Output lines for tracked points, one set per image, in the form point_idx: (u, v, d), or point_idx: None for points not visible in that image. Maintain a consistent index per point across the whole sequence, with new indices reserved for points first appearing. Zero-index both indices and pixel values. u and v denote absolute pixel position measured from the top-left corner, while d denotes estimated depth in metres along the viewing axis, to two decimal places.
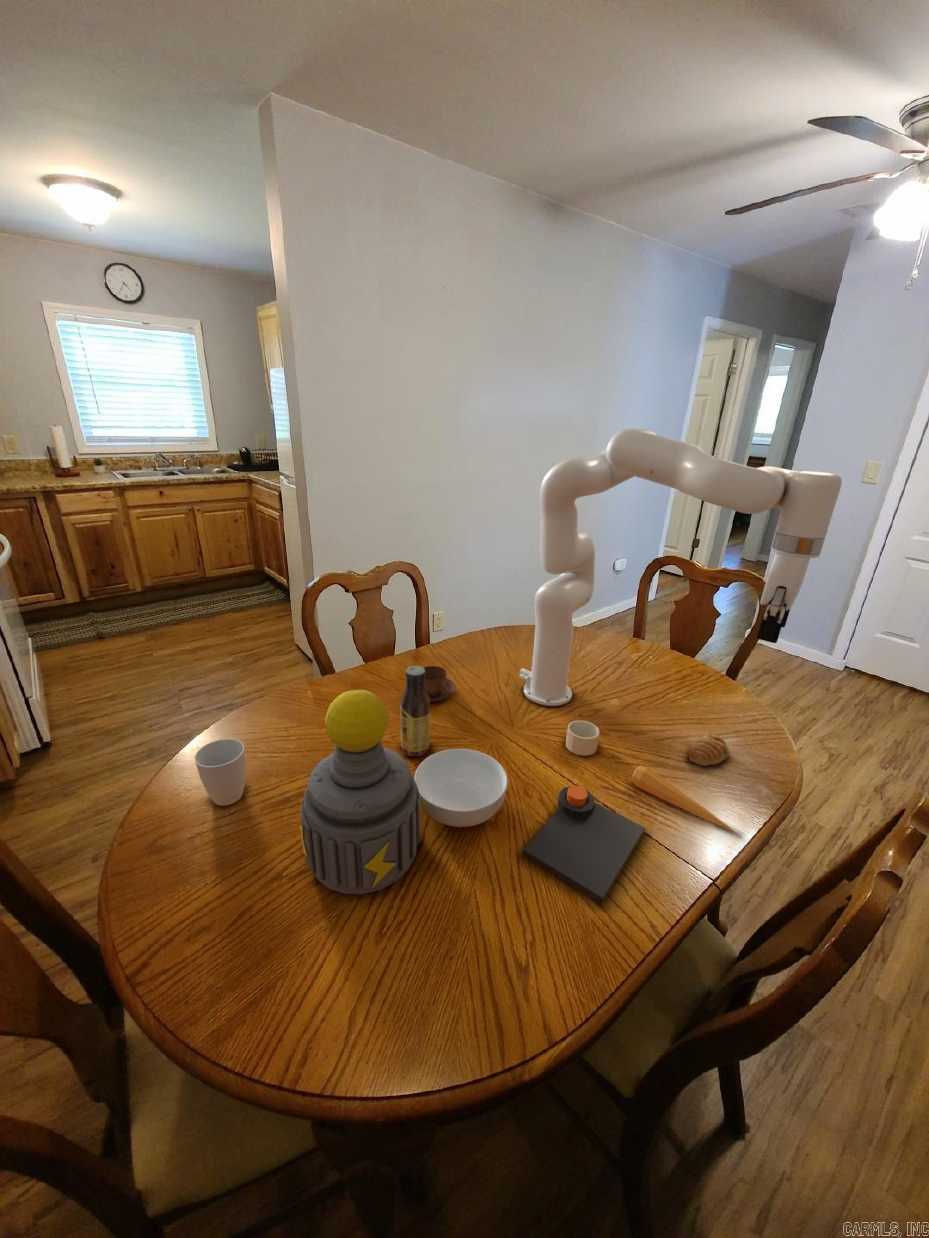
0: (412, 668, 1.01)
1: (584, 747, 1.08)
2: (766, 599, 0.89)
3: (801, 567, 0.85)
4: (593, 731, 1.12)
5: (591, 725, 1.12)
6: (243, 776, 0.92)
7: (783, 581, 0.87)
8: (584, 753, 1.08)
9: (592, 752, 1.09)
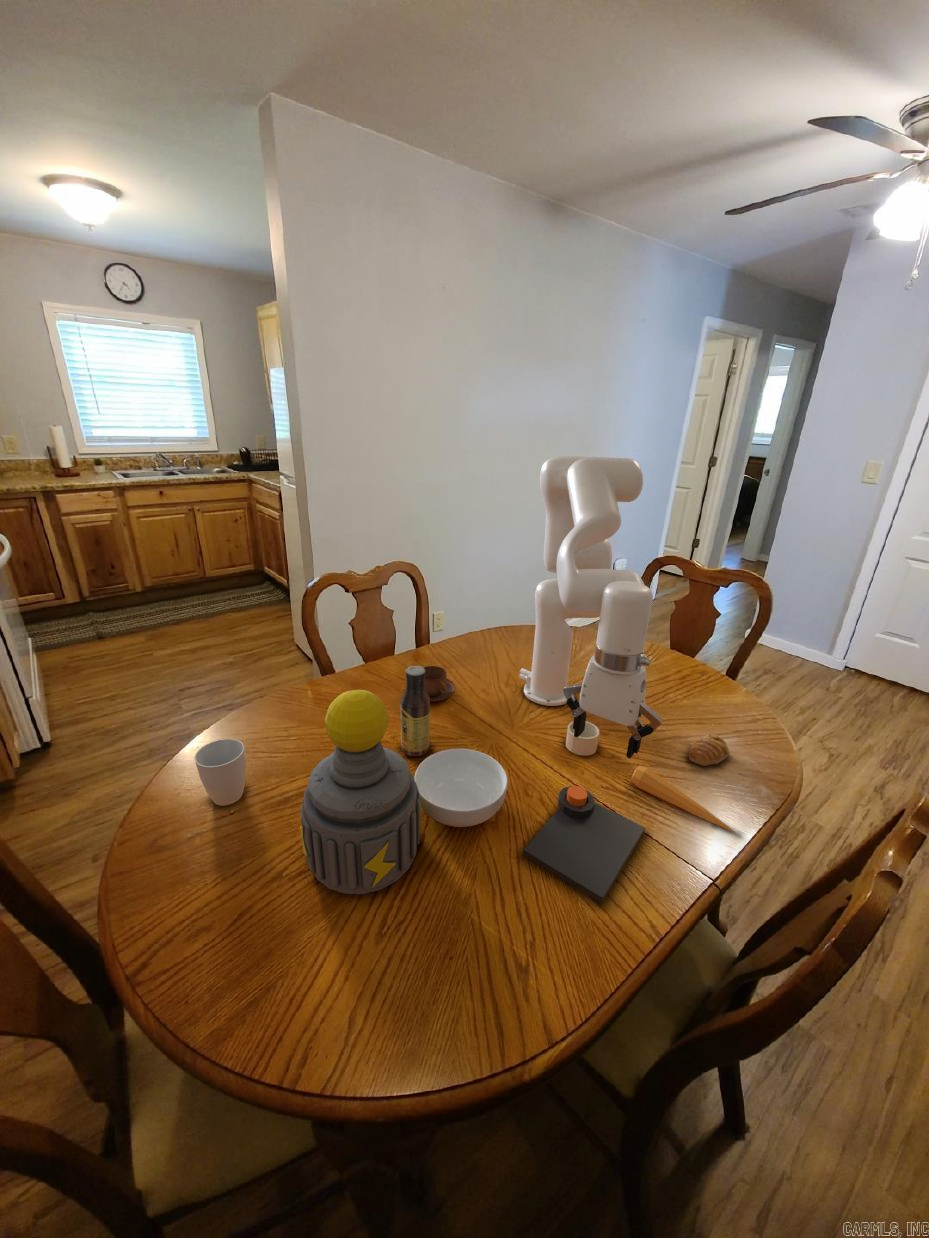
0: (412, 668, 1.01)
1: (584, 747, 1.08)
2: None
3: (587, 669, 0.84)
4: (593, 731, 1.12)
5: (591, 725, 1.12)
6: (243, 776, 0.92)
7: None
8: (584, 753, 1.08)
9: (592, 752, 1.09)
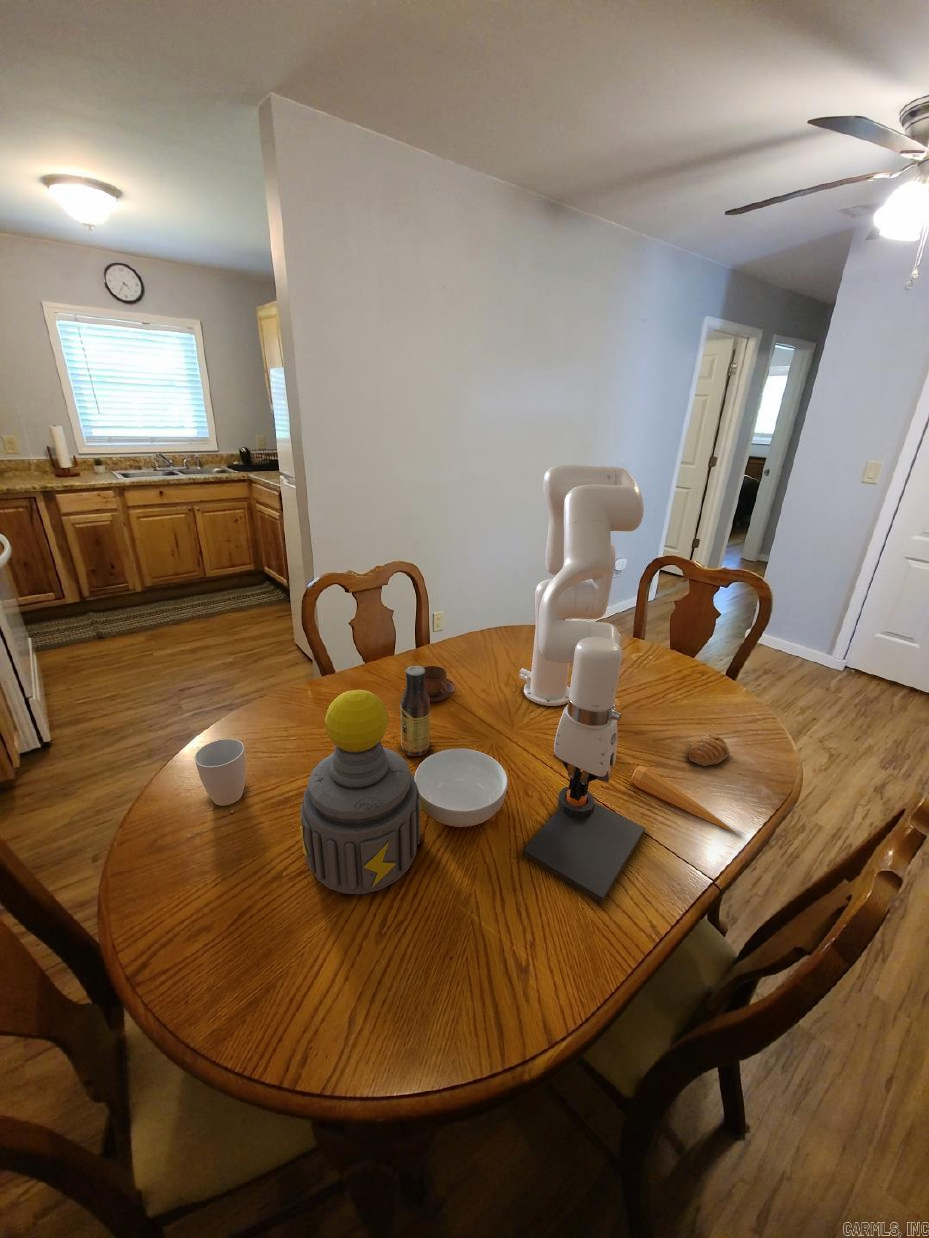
0: (412, 668, 1.01)
1: None
2: None
3: (561, 719, 0.87)
4: None
5: None
6: (243, 776, 0.92)
7: None
8: None
9: None
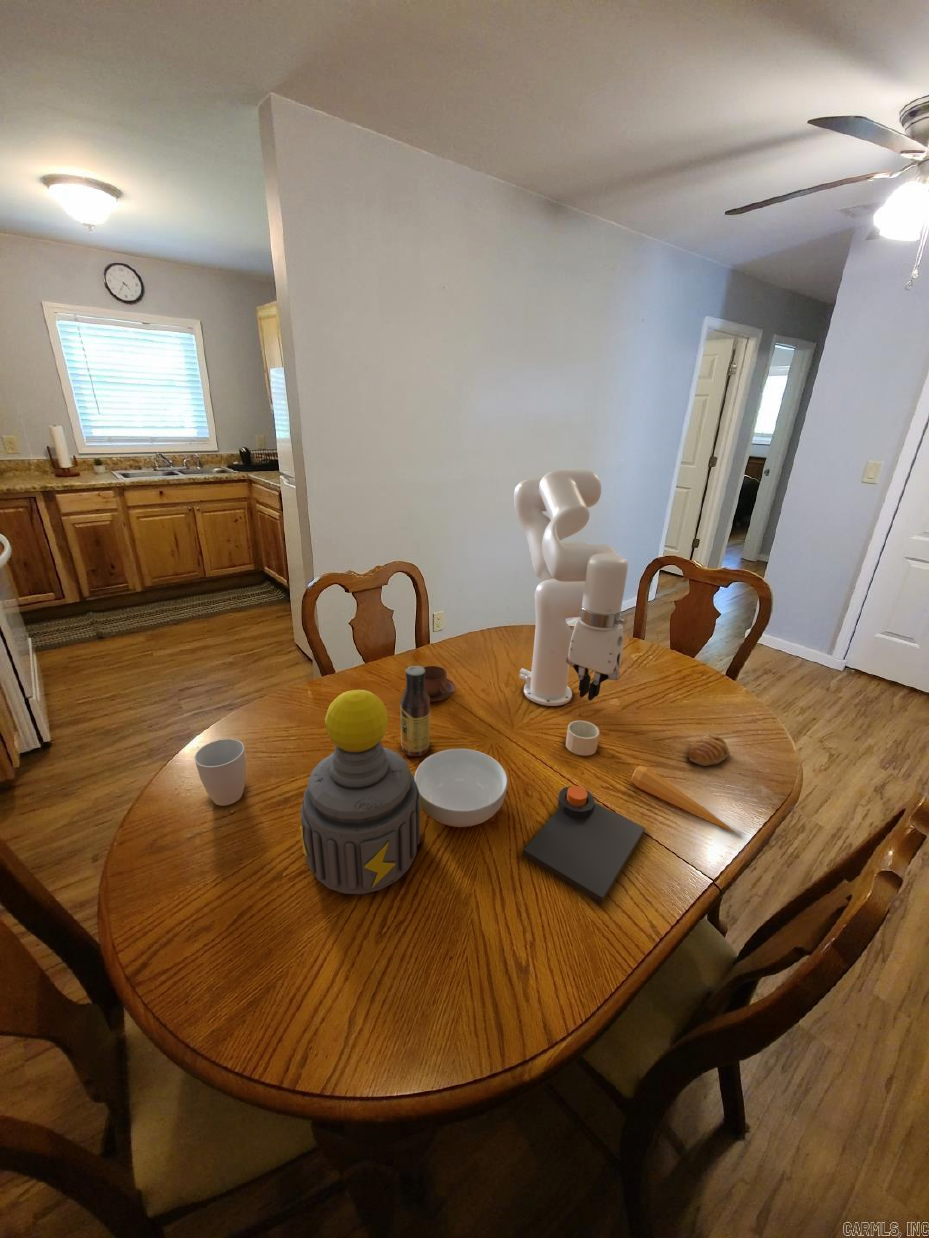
0: (412, 668, 1.01)
1: (584, 747, 1.08)
2: None
3: (575, 627, 1.02)
4: (593, 731, 1.12)
5: (591, 725, 1.12)
6: (243, 776, 0.92)
7: None
8: (584, 753, 1.08)
9: (592, 752, 1.09)
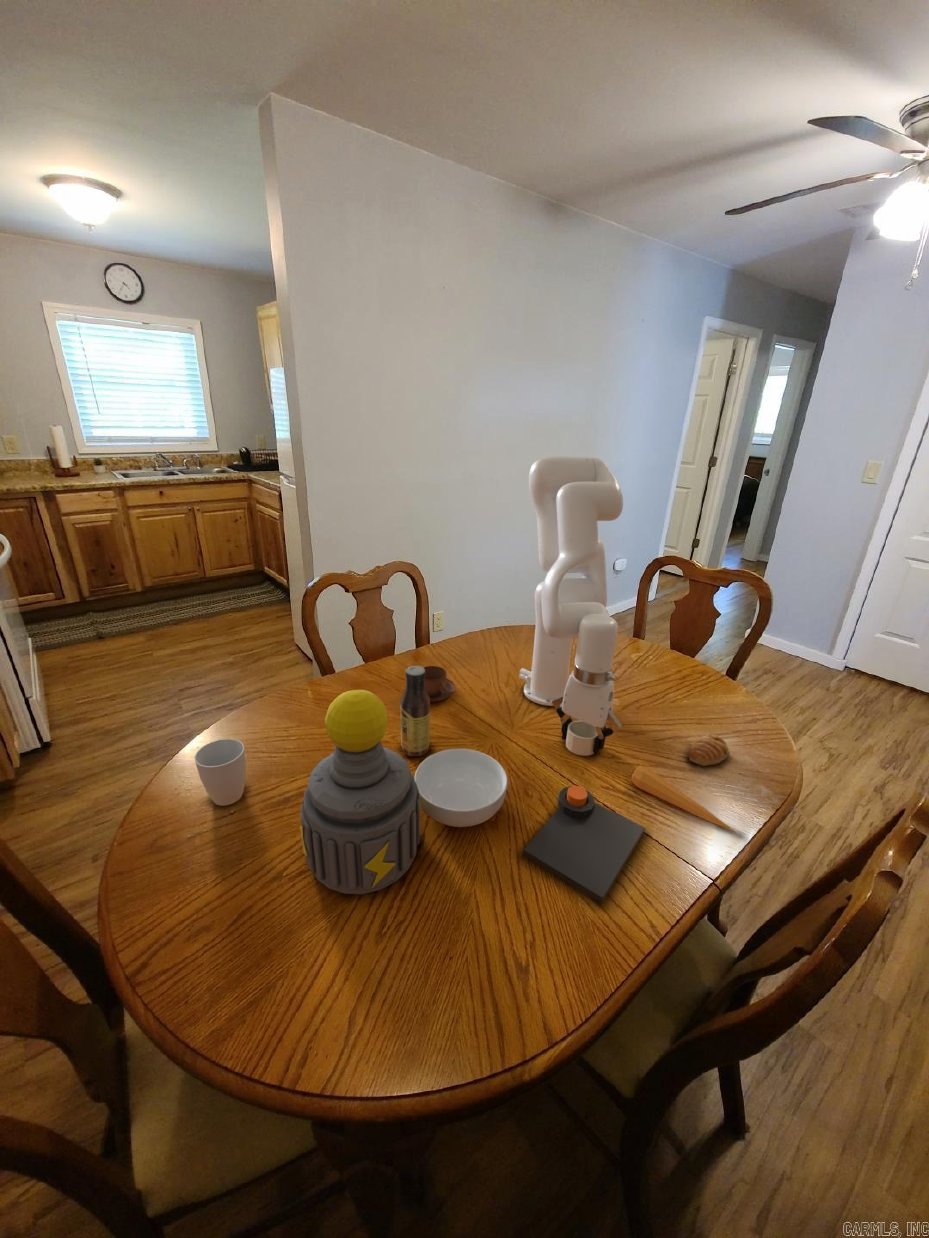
0: (412, 668, 1.01)
1: (584, 747, 1.08)
2: None
3: (568, 681, 1.06)
4: (593, 731, 1.12)
5: (591, 725, 1.12)
6: (243, 776, 0.92)
7: None
8: (584, 753, 1.08)
9: (592, 752, 1.09)
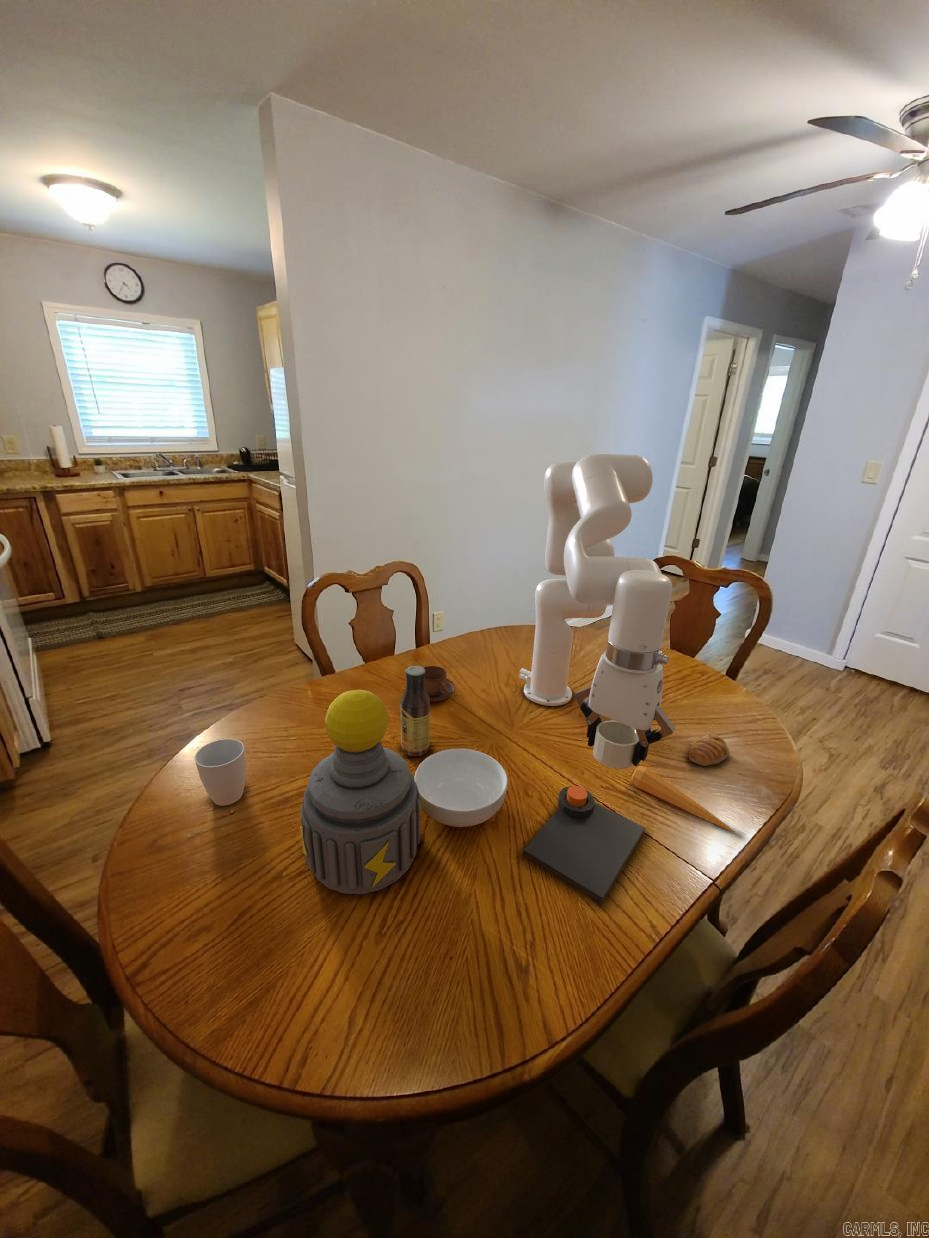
0: (412, 668, 1.01)
1: (620, 757, 0.78)
2: None
3: (598, 666, 0.77)
4: (631, 735, 0.82)
5: (628, 727, 0.82)
6: (243, 776, 0.92)
7: None
8: (620, 766, 0.78)
9: (631, 764, 0.79)
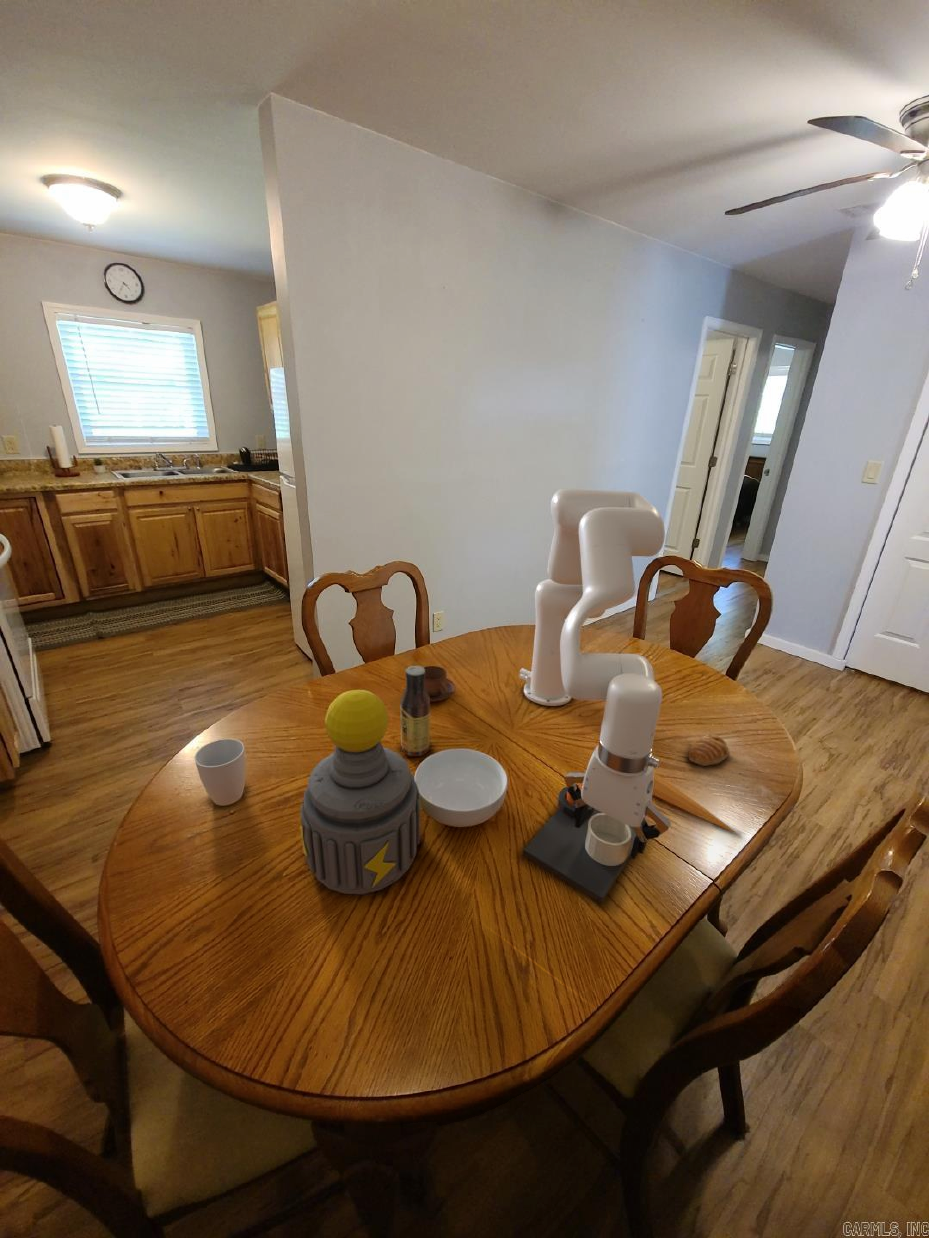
0: (412, 668, 1.01)
1: (611, 855, 0.79)
2: None
3: (590, 763, 0.78)
4: (622, 829, 0.83)
5: None
6: (243, 776, 0.92)
7: None
8: (611, 863, 0.80)
9: (622, 861, 0.80)
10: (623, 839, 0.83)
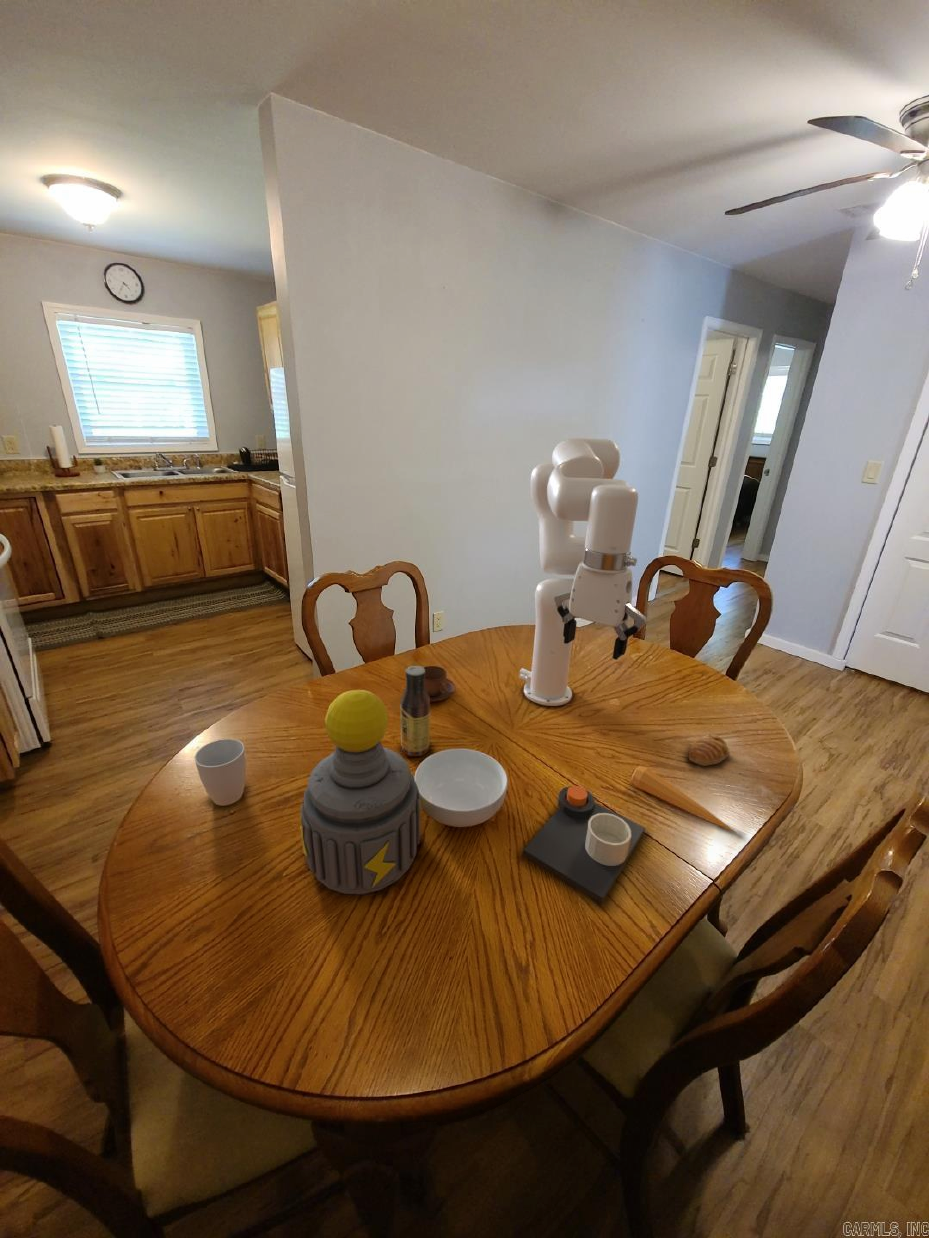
0: (412, 668, 1.01)
1: (611, 855, 0.79)
2: None
3: (576, 573, 0.88)
4: (622, 829, 0.83)
5: (619, 820, 0.84)
6: (243, 776, 0.92)
7: None
8: (611, 863, 0.80)
9: (622, 861, 0.80)
10: (623, 839, 0.83)
